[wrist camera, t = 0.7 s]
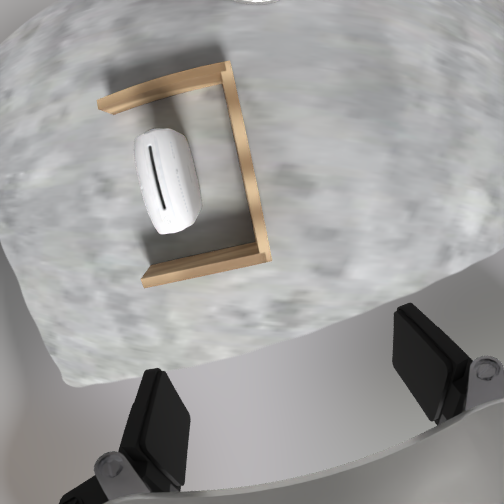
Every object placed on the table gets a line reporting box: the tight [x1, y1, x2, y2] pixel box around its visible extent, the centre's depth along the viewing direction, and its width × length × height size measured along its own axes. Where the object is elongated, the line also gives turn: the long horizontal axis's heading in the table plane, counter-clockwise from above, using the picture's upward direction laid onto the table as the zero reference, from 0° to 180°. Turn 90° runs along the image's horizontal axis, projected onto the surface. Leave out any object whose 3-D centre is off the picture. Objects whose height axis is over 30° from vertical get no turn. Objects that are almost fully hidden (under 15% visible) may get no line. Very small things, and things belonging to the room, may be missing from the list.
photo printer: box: [134, 128, 202, 234], centre depth 29 cm, size 10×4×12 cm, turn 12°
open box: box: [97, 61, 272, 288], centre depth 32 cm, size 23×16×5 cm
